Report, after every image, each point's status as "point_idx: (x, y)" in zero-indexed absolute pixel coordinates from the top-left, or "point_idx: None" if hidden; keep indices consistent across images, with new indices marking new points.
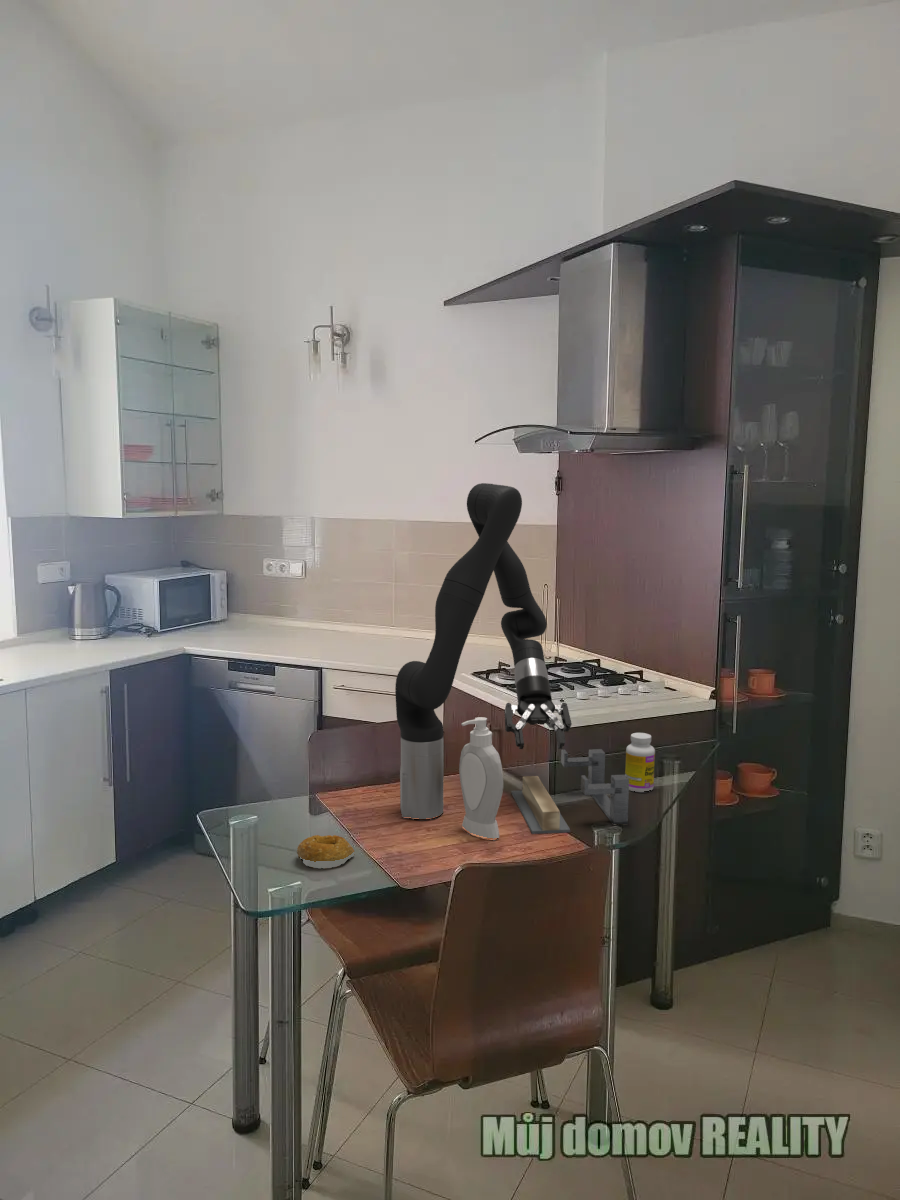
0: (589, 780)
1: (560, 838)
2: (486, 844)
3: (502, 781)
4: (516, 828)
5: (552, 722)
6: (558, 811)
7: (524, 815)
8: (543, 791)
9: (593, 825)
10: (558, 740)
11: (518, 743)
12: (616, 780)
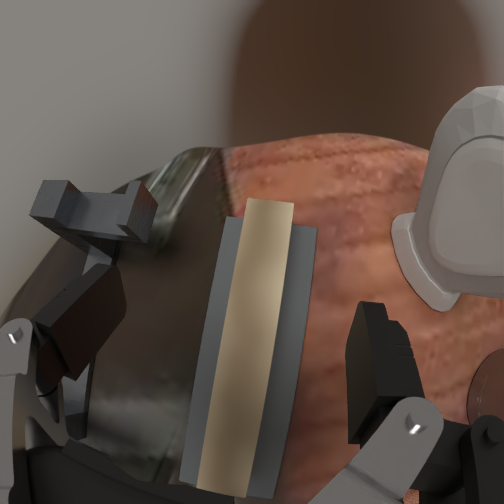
0: (69, 432)
1: (261, 195)
2: (416, 207)
3: (444, 116)
4: (342, 270)
5: (35, 399)
6: (251, 198)
7: (304, 327)
8: (230, 360)
9: (160, 243)
10: (99, 308)
11: (394, 322)
12: (66, 181)
